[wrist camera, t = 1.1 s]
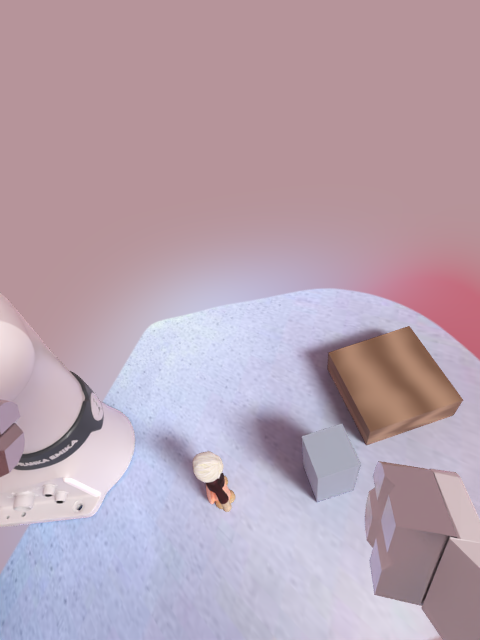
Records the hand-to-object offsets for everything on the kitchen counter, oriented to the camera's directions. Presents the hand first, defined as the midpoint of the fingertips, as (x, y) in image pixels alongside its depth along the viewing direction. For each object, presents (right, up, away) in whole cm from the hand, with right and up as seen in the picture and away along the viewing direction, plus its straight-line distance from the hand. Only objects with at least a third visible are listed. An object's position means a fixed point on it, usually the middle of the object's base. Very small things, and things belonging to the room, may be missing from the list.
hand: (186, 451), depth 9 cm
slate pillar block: (+13, -18, +44) cm, 49 cm away
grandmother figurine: (-1, -21, +45) cm, 49 cm away
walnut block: (+23, -8, +51) cm, 56 cm away
